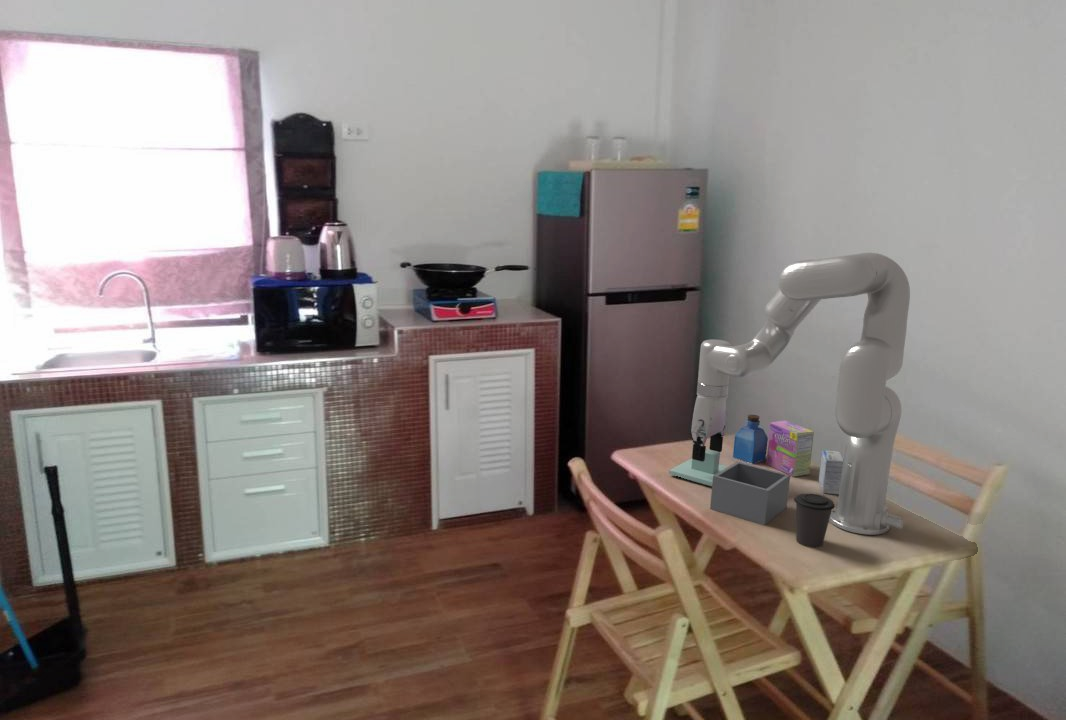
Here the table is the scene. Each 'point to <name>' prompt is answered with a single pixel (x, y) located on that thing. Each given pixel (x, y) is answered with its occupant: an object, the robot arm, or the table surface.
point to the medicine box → (830, 472)
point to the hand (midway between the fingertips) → (707, 455)
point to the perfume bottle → (750, 441)
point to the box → (790, 448)
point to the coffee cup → (812, 518)
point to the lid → (700, 468)
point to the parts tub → (750, 492)
